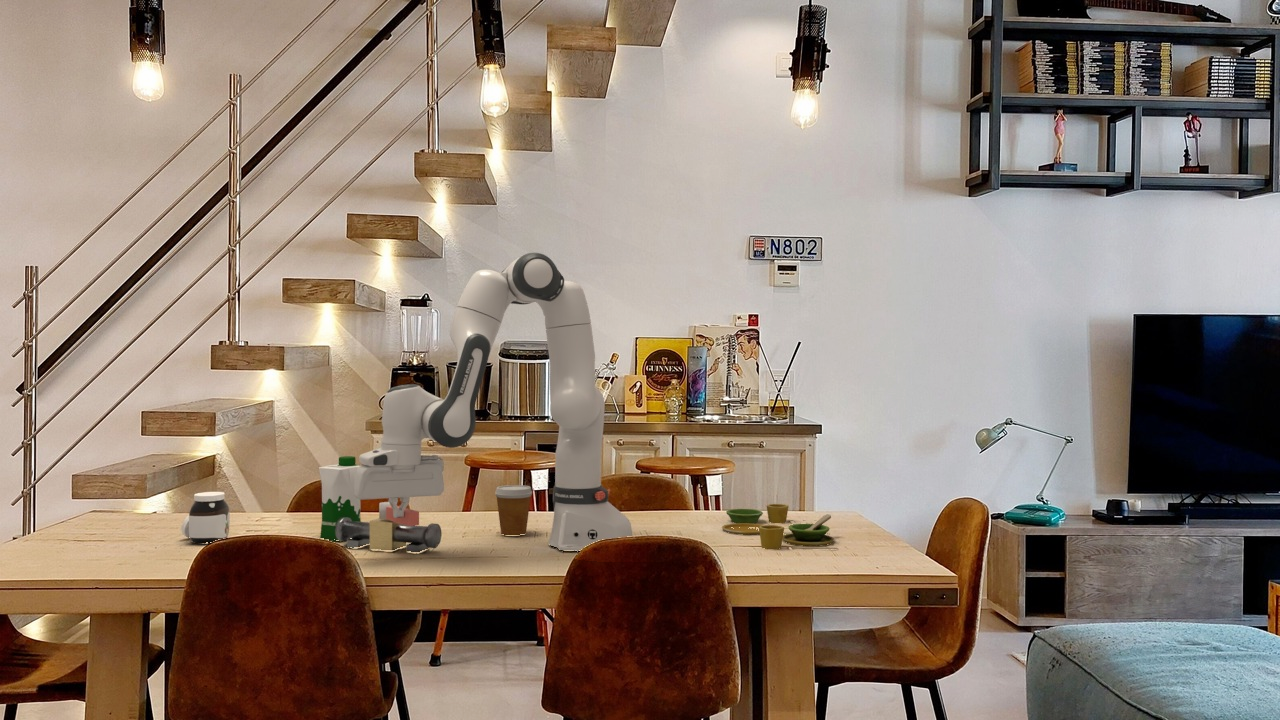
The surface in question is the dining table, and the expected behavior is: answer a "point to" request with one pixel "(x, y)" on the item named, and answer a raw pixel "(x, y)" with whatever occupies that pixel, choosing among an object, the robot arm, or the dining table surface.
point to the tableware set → (779, 528)
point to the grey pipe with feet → (387, 534)
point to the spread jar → (207, 518)
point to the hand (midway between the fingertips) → (398, 517)
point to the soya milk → (338, 495)
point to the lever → (409, 517)
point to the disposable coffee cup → (513, 508)
